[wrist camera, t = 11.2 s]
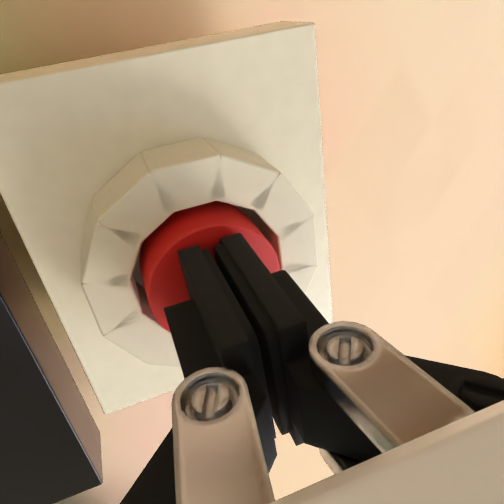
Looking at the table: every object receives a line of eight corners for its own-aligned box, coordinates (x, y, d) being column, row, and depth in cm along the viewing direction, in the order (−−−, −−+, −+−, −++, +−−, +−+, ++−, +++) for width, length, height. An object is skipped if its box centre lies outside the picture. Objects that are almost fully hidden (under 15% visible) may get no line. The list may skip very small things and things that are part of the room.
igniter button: (123, 218, 12) (130, 248, 10) (249, 184, 13) (272, 207, 11) (156, 322, 14) (166, 359, 12) (265, 287, 14) (287, 317, 13)
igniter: (-29, 79, 12) (-71, 106, 8) (283, 20, 14) (350, 23, 10) (101, 373, 17) (108, 459, 14) (309, 302, 19) (358, 362, 16)
